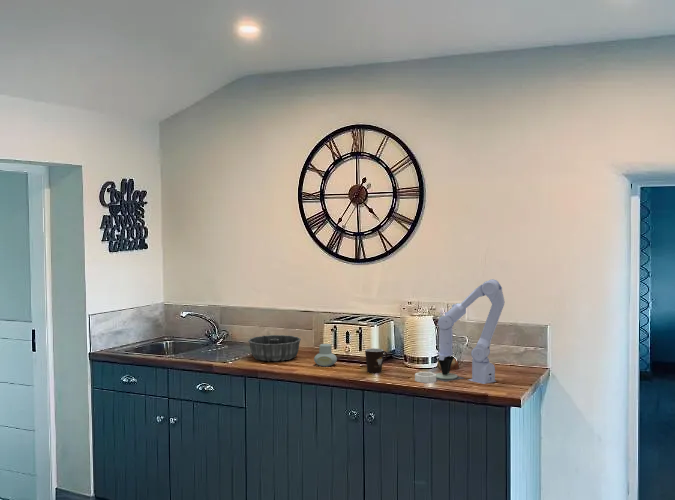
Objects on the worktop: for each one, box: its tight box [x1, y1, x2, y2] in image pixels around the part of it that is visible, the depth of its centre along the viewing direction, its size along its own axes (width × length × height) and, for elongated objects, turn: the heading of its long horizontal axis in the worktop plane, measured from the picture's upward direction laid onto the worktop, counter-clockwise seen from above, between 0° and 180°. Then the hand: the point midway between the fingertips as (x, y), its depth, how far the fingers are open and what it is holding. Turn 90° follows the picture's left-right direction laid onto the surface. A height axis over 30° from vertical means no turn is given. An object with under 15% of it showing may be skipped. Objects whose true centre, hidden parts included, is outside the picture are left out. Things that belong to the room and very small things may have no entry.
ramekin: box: [414, 371, 437, 384], centre depth 308 cm, size 9×9×3 cm
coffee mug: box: [364, 347, 388, 374], centre depth 329 cm, size 12×9×10 cm
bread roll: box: [436, 358, 460, 371], centre depth 334 cm, size 10×10×8 cm
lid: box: [435, 372, 458, 379], centre depth 314 cm, size 10×10×4 cm
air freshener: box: [313, 343, 338, 368], centre depth 343 cm, size 11×8×10 cm
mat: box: [436, 375, 465, 382], centre depth 314 cm, size 12×12×1 cm
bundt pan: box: [247, 334, 302, 363], centre depth 360 cm, size 26×26×10 cm
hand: (445, 373), depth 314 cm, fingers closed on lid, 2 cm apart
